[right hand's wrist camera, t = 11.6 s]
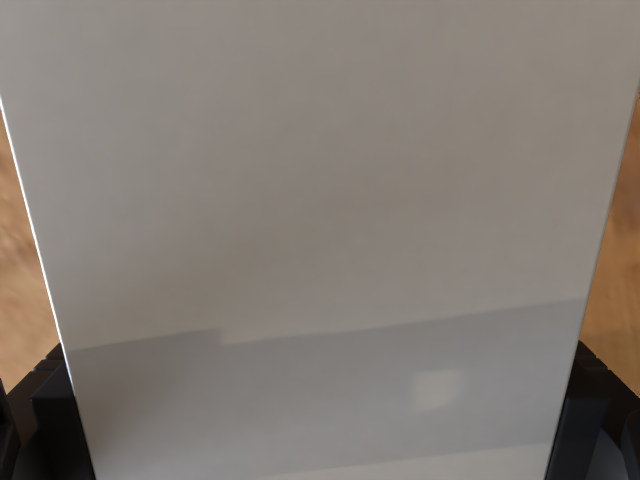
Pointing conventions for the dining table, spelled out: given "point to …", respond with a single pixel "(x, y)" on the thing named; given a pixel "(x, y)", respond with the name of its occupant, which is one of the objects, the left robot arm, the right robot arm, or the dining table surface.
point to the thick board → (319, 224)
